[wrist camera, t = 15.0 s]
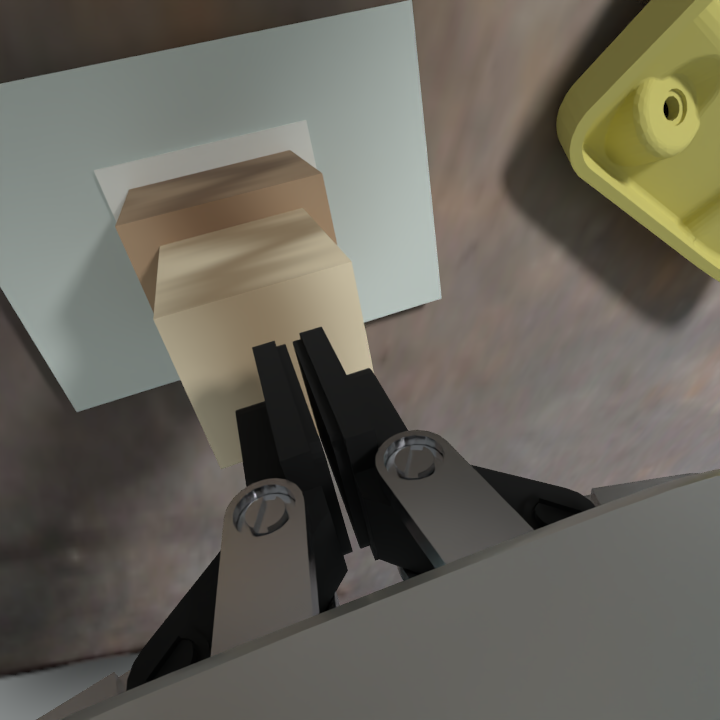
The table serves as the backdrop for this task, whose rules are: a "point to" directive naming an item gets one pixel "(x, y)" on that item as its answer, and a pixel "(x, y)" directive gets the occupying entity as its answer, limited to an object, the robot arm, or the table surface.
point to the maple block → (252, 312)
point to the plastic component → (655, 125)
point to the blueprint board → (201, 153)
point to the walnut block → (216, 206)
